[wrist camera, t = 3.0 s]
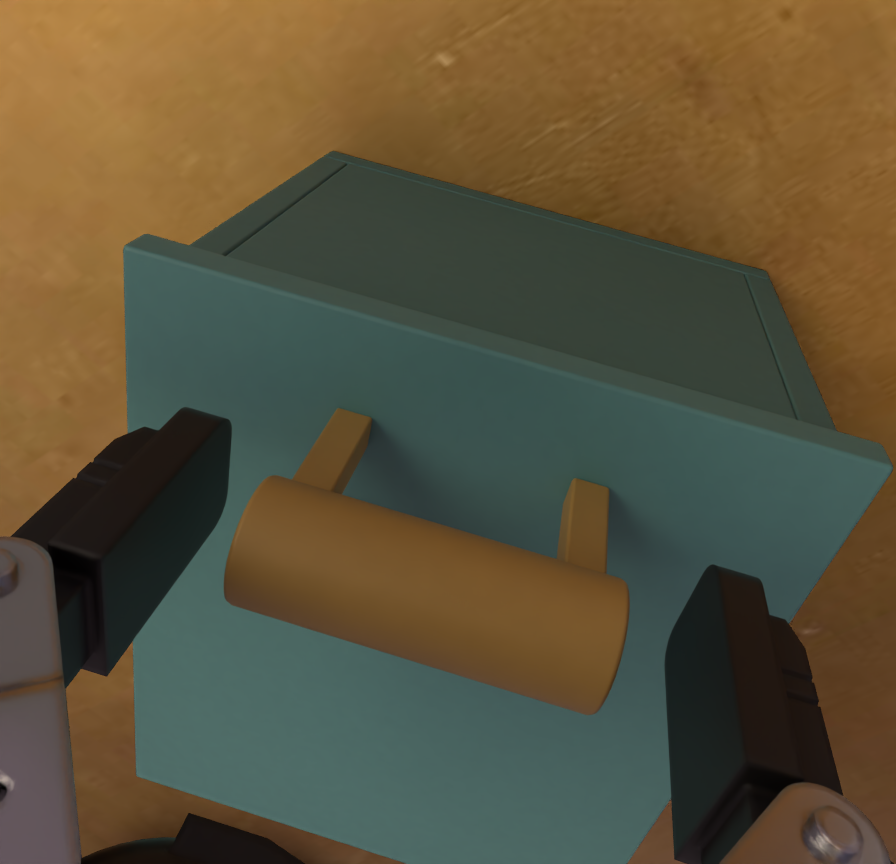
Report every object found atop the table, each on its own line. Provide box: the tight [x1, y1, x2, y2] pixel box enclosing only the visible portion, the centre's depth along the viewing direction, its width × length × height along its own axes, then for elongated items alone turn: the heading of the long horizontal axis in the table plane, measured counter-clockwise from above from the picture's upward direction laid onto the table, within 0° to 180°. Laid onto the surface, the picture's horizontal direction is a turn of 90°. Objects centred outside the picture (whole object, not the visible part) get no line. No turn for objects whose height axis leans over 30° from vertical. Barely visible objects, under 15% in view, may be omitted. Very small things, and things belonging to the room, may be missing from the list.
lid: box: [123, 234, 893, 864], centre depth 16 cm, size 16×14×5 cm
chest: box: [189, 151, 837, 431], centre depth 23 cm, size 16×14×11 cm
